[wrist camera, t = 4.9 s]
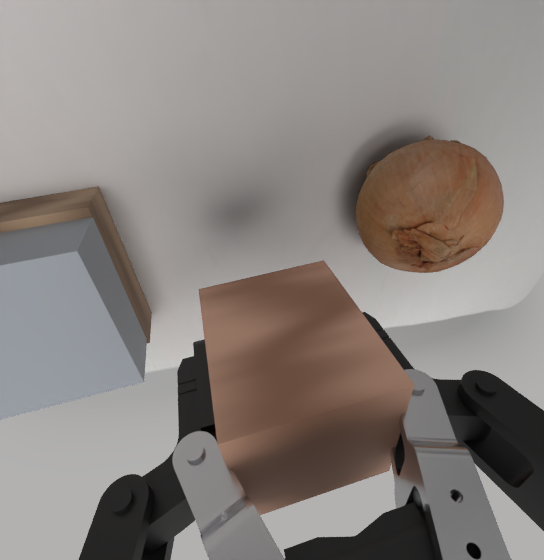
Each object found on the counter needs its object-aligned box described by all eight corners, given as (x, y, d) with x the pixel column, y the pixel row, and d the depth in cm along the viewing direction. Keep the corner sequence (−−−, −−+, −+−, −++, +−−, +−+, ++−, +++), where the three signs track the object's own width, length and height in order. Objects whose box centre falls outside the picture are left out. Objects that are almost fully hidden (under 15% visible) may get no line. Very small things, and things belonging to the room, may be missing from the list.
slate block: (92, 216, 18) (77, 250, 15) (146, 339, 24) (143, 382, 21) (-113, 252, 16) (-180, 298, 13) (-1, 374, 22) (-28, 426, 19)
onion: (338, 207, 30) (337, 286, 23) (384, 100, 23) (401, 168, 16) (435, 233, 30) (462, 318, 23) (509, 135, 23) (578, 215, 16)
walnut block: (99, 184, 21) (87, 207, 18) (151, 309, 27) (149, 342, 24) (-93, 216, 19) (-145, 247, 16) (11, 342, 26) (-11, 382, 22)
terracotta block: (323, 260, 13) (414, 384, 8) (323, 344, 16) (389, 470, 11) (198, 289, 12) (217, 444, 7) (223, 371, 15) (248, 519, 10)
